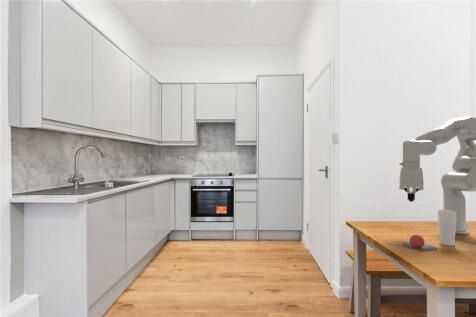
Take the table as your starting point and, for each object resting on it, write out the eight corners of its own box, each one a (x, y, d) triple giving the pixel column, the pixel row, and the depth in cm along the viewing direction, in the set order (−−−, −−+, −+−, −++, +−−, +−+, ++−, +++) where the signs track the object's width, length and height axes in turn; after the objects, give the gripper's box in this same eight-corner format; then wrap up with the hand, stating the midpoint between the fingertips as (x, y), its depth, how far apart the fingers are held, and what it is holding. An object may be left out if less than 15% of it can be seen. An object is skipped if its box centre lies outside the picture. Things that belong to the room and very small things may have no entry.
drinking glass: (459, 247, 128) (459, 212, 129) (442, 246, 130) (442, 211, 130) (451, 243, 135) (451, 210, 135) (435, 242, 136) (435, 209, 137)
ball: (416, 245, 123) (415, 252, 126) (428, 239, 123) (427, 247, 126) (406, 235, 127) (406, 243, 130) (418, 230, 127) (417, 238, 131)
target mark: (413, 241, 138) (413, 240, 138) (443, 248, 126) (443, 247, 126) (395, 244, 132) (395, 243, 132) (425, 252, 120) (425, 251, 120)
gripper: (395, 164, 150) (395, 201, 149) (430, 165, 144) (430, 203, 144) (393, 164, 157) (393, 199, 156) (426, 165, 151) (426, 201, 150)
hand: (411, 201), depth 150 cm, fingers closed
